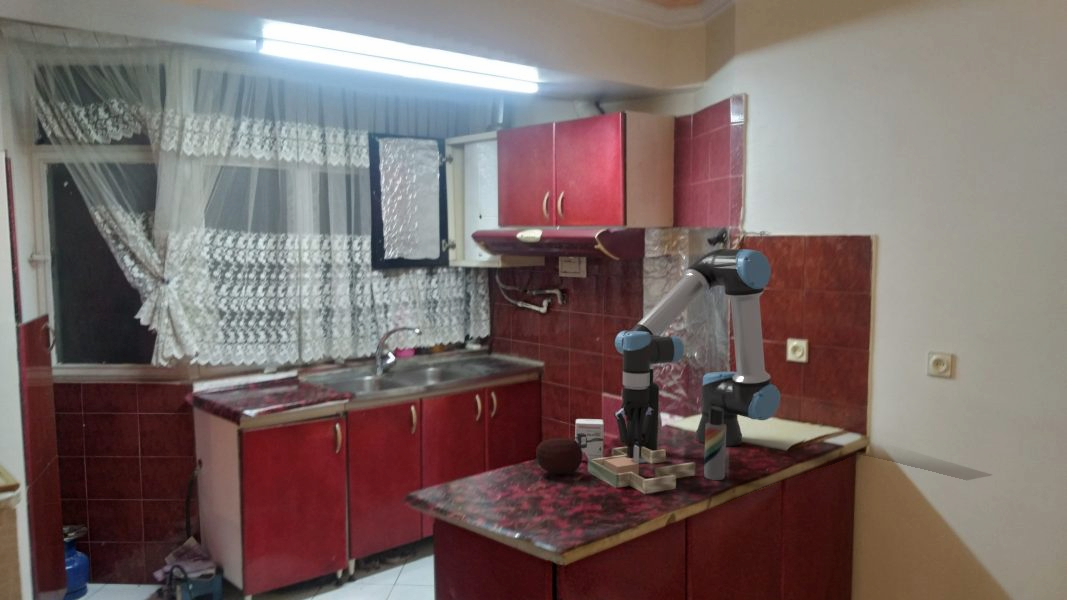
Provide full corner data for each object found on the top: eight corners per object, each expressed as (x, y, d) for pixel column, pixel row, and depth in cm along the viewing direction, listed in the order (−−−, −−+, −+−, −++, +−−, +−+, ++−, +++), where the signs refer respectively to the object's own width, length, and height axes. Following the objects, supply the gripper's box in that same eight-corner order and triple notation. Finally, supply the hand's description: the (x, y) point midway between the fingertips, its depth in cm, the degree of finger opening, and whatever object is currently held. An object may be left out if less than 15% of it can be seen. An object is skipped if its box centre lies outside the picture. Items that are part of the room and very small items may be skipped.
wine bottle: (651, 448, 230) (654, 356, 228) (660, 453, 225) (663, 358, 222) (635, 450, 228) (638, 356, 226) (644, 455, 223) (646, 359, 221)
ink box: (574, 461, 216) (575, 422, 215) (574, 456, 221) (575, 418, 220) (603, 462, 216) (604, 423, 215) (602, 457, 221) (603, 419, 220)
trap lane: (649, 454, 224) (650, 443, 224) (711, 482, 198) (711, 470, 198) (575, 464, 212) (575, 453, 212) (630, 496, 186) (630, 483, 186)
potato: (536, 467, 209) (536, 432, 209) (581, 468, 209) (582, 433, 208) (535, 479, 198) (535, 443, 198) (582, 481, 198) (583, 444, 197)
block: (624, 472, 207) (625, 456, 206) (638, 479, 201) (638, 463, 200) (603, 475, 204) (604, 459, 203) (617, 482, 197) (617, 466, 197)
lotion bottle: (710, 472, 207) (713, 404, 205) (728, 477, 203) (730, 407, 201) (699, 476, 203) (702, 407, 201) (717, 481, 199) (720, 410, 197)
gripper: (647, 382, 208) (645, 462, 210) (608, 385, 203) (607, 467, 204) (662, 387, 201) (660, 469, 203) (623, 390, 196) (621, 475, 198)
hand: (633, 468), depth 204 cm, fingers closed
